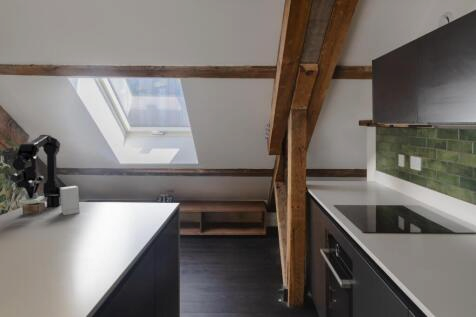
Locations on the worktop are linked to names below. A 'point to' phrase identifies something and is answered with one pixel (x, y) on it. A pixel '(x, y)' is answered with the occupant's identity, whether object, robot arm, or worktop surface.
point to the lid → (31, 199)
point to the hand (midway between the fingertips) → (31, 197)
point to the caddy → (34, 208)
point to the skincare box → (69, 200)
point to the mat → (36, 216)
